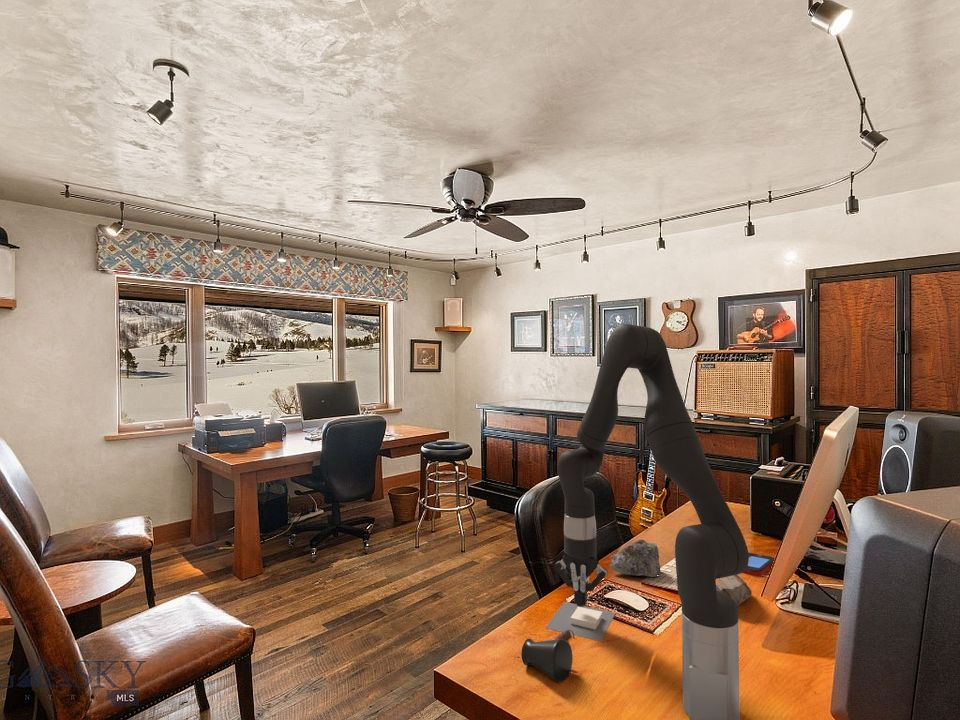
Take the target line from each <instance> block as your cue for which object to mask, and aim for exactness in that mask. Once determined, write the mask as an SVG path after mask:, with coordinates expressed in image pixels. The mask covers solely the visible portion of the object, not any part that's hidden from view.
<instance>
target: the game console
mask: <svg viewBox="0 0 960 720" xmlns="http://www.w3.org/2000/svg"><path fill="white" fill-rule="evenodd" d="M748 554H749V562H748V566H747V568H746V570H745V571H744V572H742V573H741V574H743V573H744V574H747V575H750V576H753V577H762V576H763V575H764V574H765V573H767V572H768V571H769V570H771V569H772V568H771V566H772V564H773V561H774V559H776V558H775V557H774V556H770V555H764V554H757V553H754V552H753V553H752V552H749V551H748Z"/></svg>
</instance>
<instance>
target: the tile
mask: <svg viewBox="0 0 960 720" xmlns="http://www.w3.org/2000/svg"><path fill="white" fill-rule="evenodd" d="M602 618H603V614H602V612H601V611H596V610H592V609H587V608H583V607H577V609H576V610H575V612H574V613H573V615H572V616H571V618H570V619H571V624H573V625H578V626H582V627H586V628H590V629H597V627H598V625H599V623H600V621H601V620H602Z"/></svg>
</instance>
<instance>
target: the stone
mask: <svg viewBox="0 0 960 720" xmlns="http://www.w3.org/2000/svg"><path fill="white" fill-rule="evenodd" d="M716 589H717V591H720V592H722V593H724V594H726V595H728V596H730V597H731V598H732V599H733V600H734V601H735V602H736V604H737V606H738V607H739V606H740V605H742V603H743V602H745V601H746V600H748V599H749V598H750V597H751V596H752V595H753V594H752V593H753V591H752V589H751V588H750V587H749V586H748V584H747V582H745V581H744V579H743V578H741V577H740V576H739V574H738V575H733V576H728V577H723V578H718V581H717V582H716Z"/></svg>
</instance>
